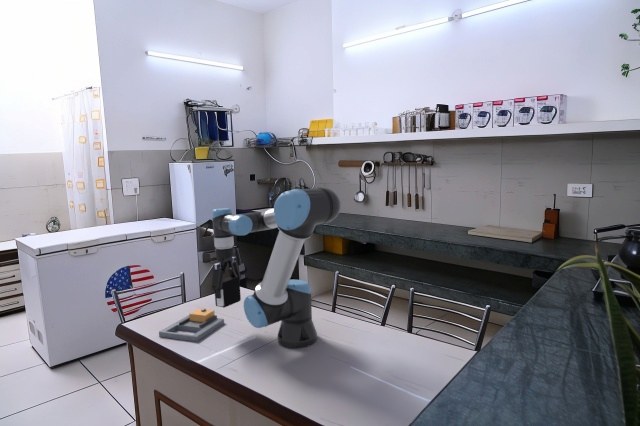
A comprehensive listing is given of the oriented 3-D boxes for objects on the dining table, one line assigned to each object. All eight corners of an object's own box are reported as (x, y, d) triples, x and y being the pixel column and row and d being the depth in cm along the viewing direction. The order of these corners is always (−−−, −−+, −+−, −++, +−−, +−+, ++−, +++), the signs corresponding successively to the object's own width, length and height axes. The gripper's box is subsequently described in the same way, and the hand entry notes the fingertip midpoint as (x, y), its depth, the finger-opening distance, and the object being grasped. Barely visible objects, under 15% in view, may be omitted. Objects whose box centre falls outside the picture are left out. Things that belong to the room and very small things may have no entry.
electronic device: (241, 300, 168) (239, 276, 167) (223, 308, 160) (221, 283, 159) (233, 299, 170) (231, 275, 169) (215, 306, 162) (213, 282, 161)
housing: (224, 323, 176) (223, 316, 175) (196, 341, 158) (196, 333, 158) (189, 319, 182) (188, 312, 181) (159, 336, 164) (158, 328, 164)
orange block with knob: (214, 316, 178) (214, 308, 177) (205, 322, 172) (205, 314, 171) (199, 315, 180) (198, 307, 180) (189, 320, 174) (189, 312, 174)
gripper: (231, 241, 175) (235, 292, 177) (198, 252, 153) (203, 310, 156) (247, 242, 172) (250, 293, 174) (215, 253, 151) (220, 311, 153)
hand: (228, 301), depth 165 cm, fingers closed on electronic device, 10 cm apart
